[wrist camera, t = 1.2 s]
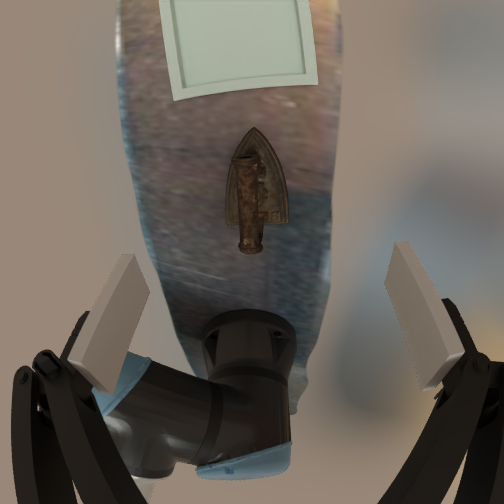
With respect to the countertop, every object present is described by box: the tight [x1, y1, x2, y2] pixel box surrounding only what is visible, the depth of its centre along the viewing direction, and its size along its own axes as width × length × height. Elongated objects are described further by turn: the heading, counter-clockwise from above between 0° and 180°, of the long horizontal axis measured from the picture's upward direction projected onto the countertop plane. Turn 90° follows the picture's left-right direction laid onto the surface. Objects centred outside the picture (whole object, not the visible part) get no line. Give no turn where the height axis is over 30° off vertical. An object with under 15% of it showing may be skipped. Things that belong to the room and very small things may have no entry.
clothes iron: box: [226, 127, 289, 254], centre depth 26 cm, size 7×11×10 cm, turn 4°
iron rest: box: [159, 0, 318, 101], centre depth 18 cm, size 17×13×2 cm
